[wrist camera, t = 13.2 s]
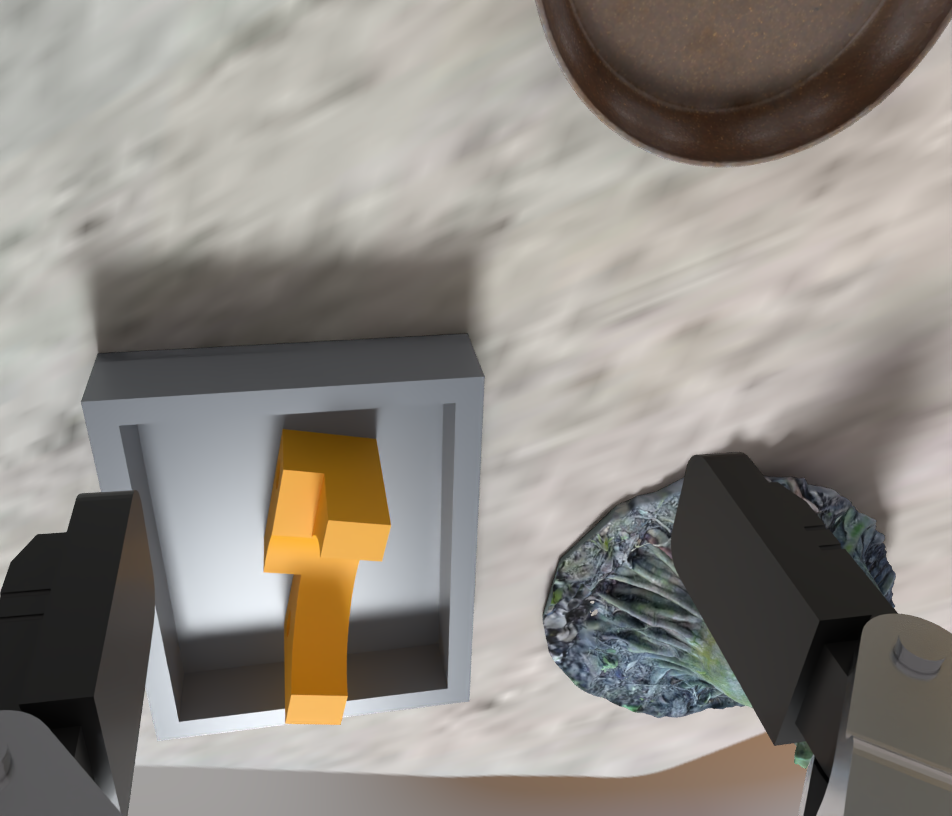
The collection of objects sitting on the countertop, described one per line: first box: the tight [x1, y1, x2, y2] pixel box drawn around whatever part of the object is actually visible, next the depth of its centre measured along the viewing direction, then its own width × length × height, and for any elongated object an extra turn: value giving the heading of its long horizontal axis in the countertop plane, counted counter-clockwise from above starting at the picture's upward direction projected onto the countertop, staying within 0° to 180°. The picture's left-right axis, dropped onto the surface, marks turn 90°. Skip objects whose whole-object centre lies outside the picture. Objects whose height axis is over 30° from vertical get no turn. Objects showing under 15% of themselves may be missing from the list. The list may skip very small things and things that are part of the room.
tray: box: [81, 334, 485, 741], centre depth 43 cm, size 16×20×4 cm
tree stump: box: [543, 476, 896, 769], centre depth 48 cm, size 18×20×18 cm
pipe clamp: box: [263, 429, 391, 725], centre depth 42 cm, size 12×4×6 cm, turn 165°
